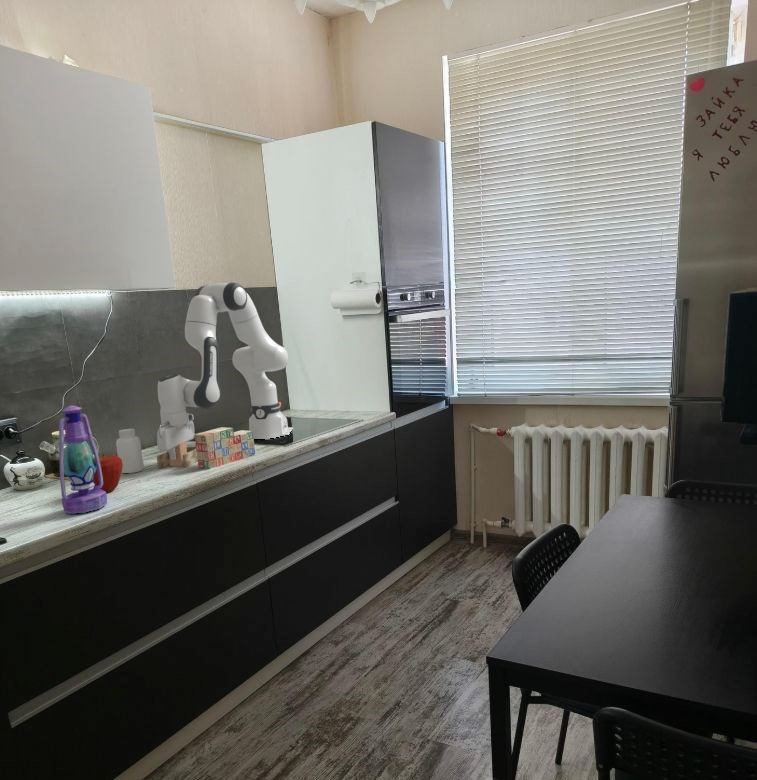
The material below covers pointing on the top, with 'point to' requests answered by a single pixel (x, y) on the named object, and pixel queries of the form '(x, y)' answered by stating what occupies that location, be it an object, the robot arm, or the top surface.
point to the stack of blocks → (223, 446)
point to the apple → (109, 472)
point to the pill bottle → (129, 451)
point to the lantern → (79, 464)
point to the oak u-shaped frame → (187, 458)
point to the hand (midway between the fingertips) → (178, 457)
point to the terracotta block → (179, 454)
